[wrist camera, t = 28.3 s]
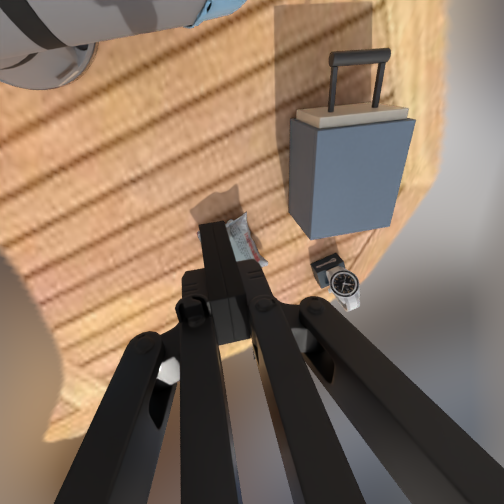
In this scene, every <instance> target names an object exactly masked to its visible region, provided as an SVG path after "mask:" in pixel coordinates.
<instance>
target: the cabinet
mask: <svg viewBox="0 0 504 504" xmlns="http://www.w3.org/2000/svg"><path fill="white" fill-rule="evenodd" d="M415 122H416V120H414V119H410V118H407V119H402V120H393V121H384V122H375V123H371V124H362V125H353V126H345V127H336V128H327V129H319V128H316V127H314V126H312V125H309V124H307V123H304V122H302V121H300V120H297V119H296V118H294V119H290V161H289V213H290V215H291V216H292V217H293V218H294V220H295V221H296V222H297V224H298V225H299V226H300V227H301V229H302V230H303V231H304V233H305V234H306V235H307V237H308V238H309V239H310V240H314V239H320V238H326V237H332V236H337V235H343V234H349V233H355V232H360V231H366V230H372V229H377V228H383V227H389V226H390V223H391V219H392V215H393V211H394V207H395V203H396V199H397V195H398V191H399V187H400V183H401V179H402V174H403V170H404V166H405V162H406V158H407V154H408V150H409V146H410V142H411V138H412V134H413V130H414V126H415Z"/></svg>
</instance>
